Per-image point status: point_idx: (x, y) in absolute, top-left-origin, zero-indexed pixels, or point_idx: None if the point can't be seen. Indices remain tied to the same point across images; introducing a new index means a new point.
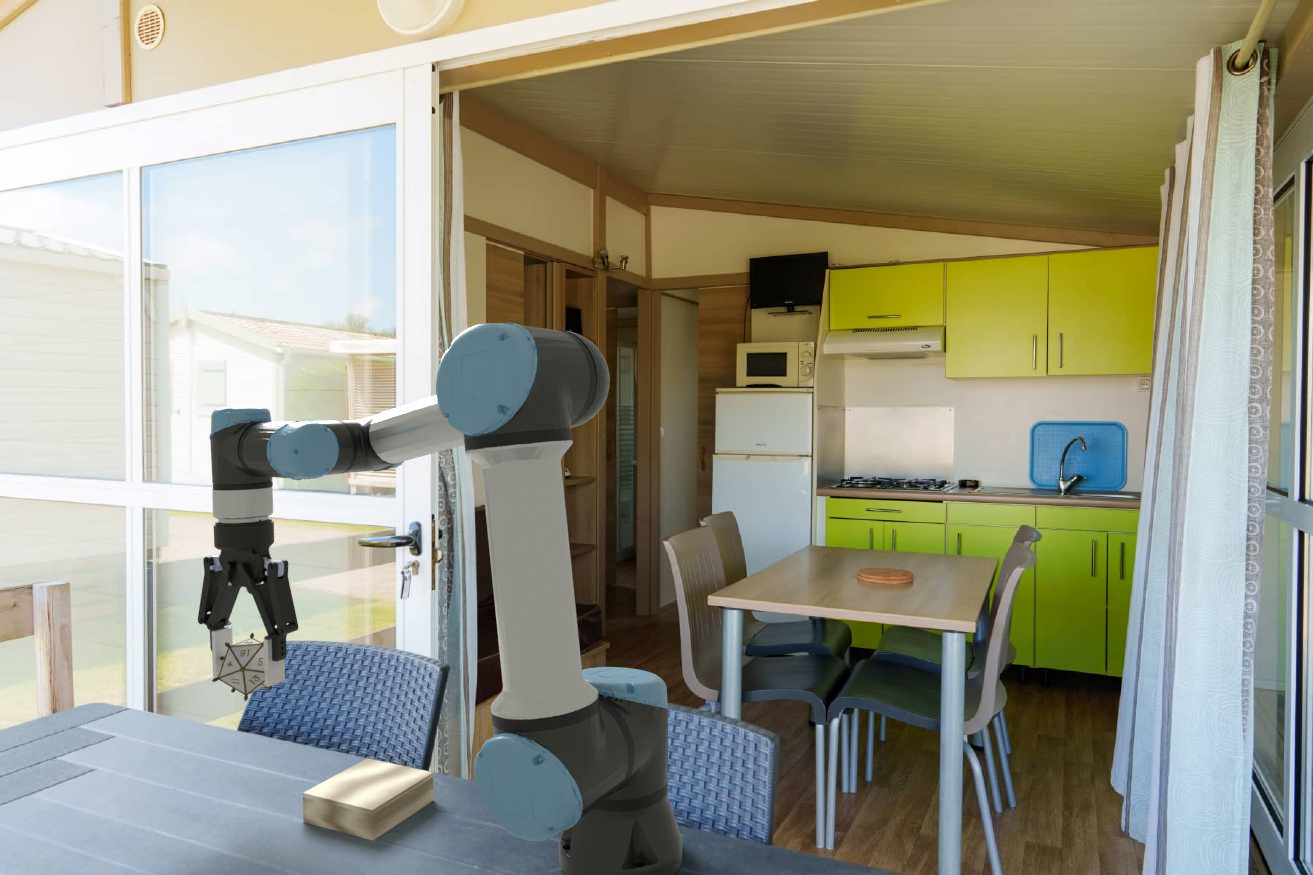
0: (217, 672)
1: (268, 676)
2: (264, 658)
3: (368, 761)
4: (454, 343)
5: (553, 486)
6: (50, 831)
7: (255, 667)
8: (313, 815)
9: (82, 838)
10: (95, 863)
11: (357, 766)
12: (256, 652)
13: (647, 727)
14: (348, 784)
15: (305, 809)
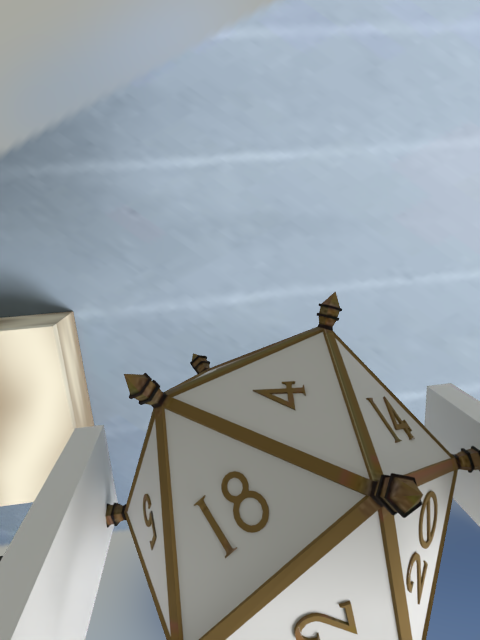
0: (441, 401)
1: (58, 458)
2: (52, 534)
3: None
4: None
5: None
6: (472, 51)
7: (147, 466)
8: (38, 318)
9: (390, 64)
10: (275, 10)
11: None
12: (167, 559)
13: None
14: (4, 399)
15: (58, 318)
